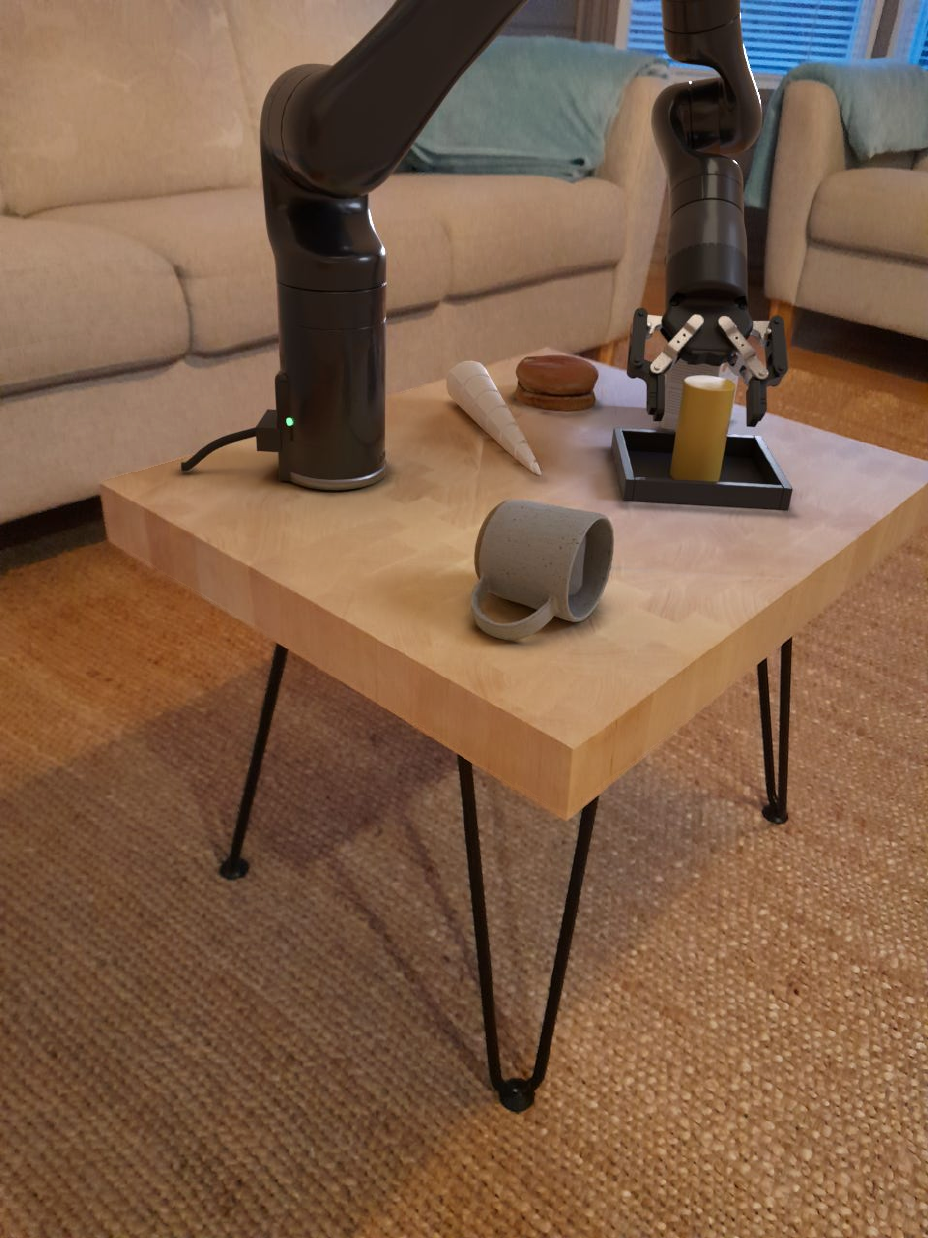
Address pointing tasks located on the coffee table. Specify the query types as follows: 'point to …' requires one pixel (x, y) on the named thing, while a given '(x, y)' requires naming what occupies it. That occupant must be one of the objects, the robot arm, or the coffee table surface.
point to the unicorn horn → (488, 409)
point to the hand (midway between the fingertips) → (706, 420)
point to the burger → (556, 382)
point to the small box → (676, 386)
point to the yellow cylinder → (702, 428)
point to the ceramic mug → (541, 563)
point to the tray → (741, 484)
